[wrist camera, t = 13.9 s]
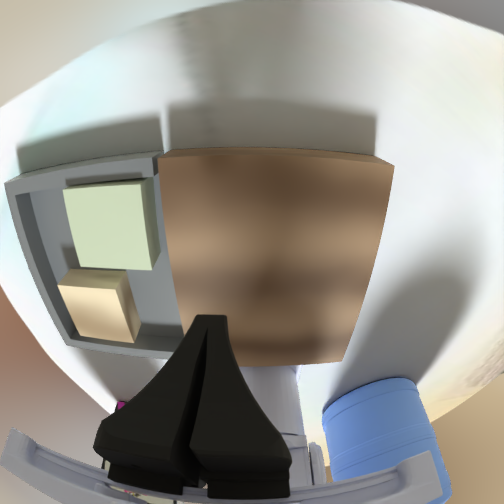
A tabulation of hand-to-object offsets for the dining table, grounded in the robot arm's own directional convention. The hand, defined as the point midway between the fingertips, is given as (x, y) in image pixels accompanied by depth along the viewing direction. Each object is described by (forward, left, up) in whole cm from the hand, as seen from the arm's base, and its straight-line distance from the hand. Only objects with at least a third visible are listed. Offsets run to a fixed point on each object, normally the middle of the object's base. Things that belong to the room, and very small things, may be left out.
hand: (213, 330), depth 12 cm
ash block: (-6, +11, -6) cm, 14 cm away
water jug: (-28, -20, -10) cm, 36 cm away
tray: (-2, +11, -9) cm, 15 cm away
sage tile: (+2, +8, -9) cm, 12 cm away
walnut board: (-2, -3, -9) cm, 10 cm away
